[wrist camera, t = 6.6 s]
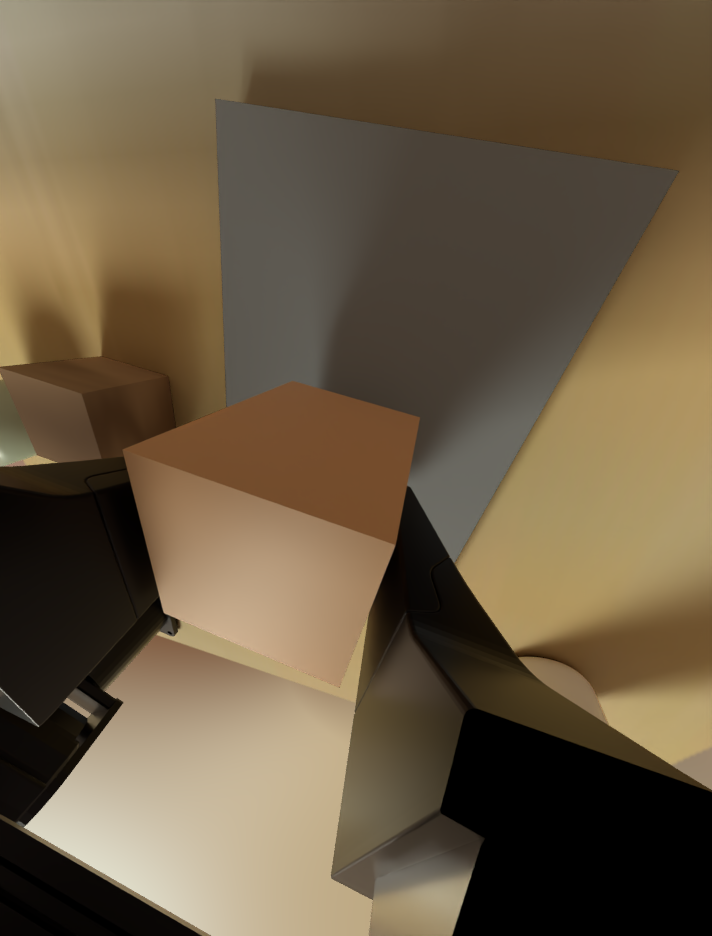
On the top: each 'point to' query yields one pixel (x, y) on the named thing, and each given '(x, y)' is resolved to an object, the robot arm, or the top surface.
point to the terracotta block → (276, 520)
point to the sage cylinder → (12, 431)
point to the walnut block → (89, 406)
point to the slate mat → (418, 279)
